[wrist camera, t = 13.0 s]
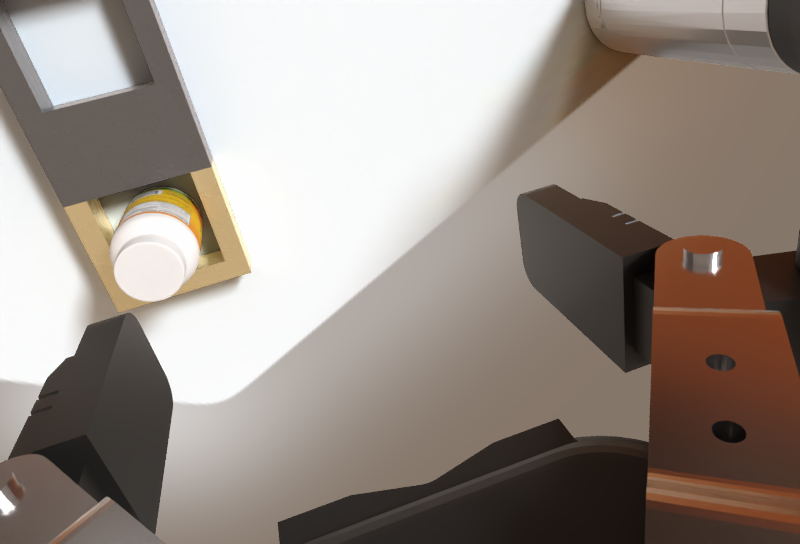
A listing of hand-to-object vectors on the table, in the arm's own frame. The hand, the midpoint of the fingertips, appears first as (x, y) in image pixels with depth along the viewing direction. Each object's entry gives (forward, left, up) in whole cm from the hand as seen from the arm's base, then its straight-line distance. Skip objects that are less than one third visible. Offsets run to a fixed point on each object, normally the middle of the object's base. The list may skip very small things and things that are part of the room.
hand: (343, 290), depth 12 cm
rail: (+10, +1, -33) cm, 35 cm away
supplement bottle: (+10, +8, -33) cm, 36 cm away
